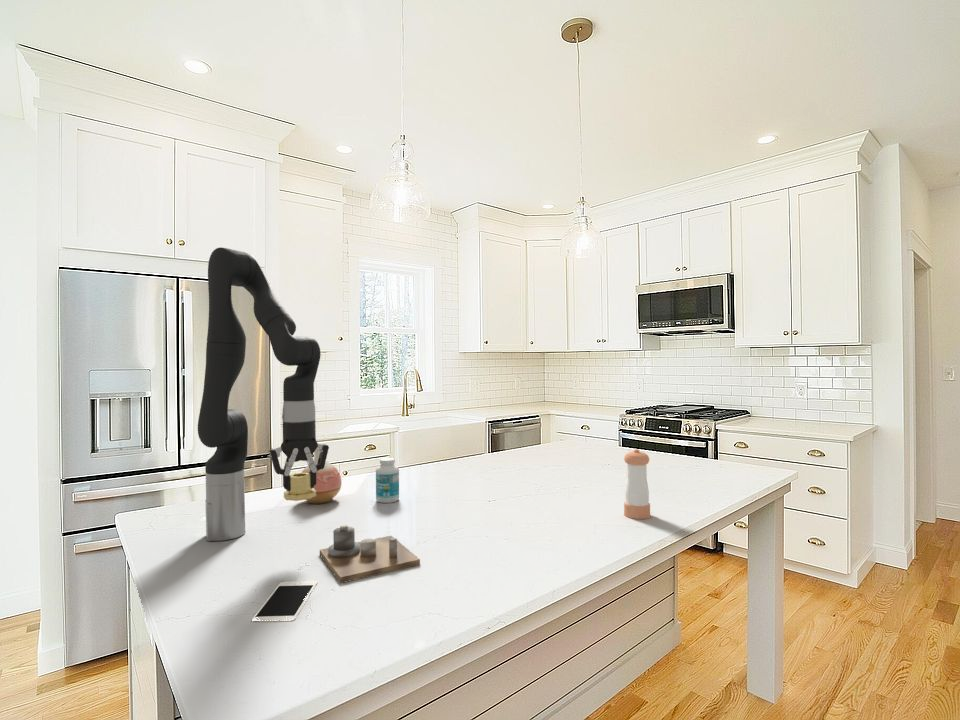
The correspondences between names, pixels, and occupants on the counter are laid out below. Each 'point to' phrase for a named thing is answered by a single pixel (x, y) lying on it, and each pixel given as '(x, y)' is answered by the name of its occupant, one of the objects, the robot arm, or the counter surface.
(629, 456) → the salt shaker
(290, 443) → the robot arm
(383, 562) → the board
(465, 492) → the counter surface
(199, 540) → the counter surface
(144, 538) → the counter surface
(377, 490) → the pill bottle
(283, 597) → the cell phone
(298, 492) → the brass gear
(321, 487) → the vase
